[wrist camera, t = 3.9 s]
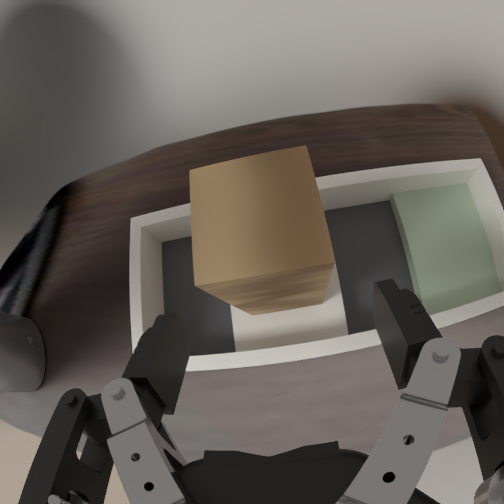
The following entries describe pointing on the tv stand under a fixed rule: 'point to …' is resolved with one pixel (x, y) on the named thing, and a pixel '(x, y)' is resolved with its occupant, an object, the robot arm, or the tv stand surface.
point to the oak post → (260, 232)
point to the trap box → (338, 266)
